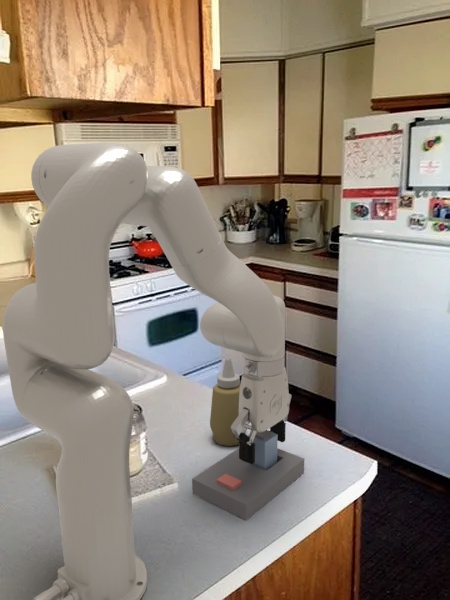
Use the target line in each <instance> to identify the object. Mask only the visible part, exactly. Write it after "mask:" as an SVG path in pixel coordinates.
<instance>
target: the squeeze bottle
mask: <svg viewBox="0 0 450 600" xmlns="http://www.w3.org/2000/svg"><path fill="white" fill-rule="evenodd" d="M232 362H233V361H232V359H231V358H225V361H224V365H223V370H222V373H220V374H218V375H217V376H216V384H215V385H214V386H213V387H212V393H211V396H212V397H211V405H210V418H209V427H210V429H211V432H212V435H213V438H214V440H215V442H216V443H218V444H219V445H221V446H225V447H226V446H227V447H229V446H231V447H232V446H236V445H237V446H238V445H239V441H238V440H237V439H236V438H235V437H234V434H233V432H232V430H231V425H232V424H233V422H234V421H235V420H236V418H237V417H238V416H239V394H240V385H241V380H240V378H241V377H240V375H239V374H238V373H236V372H235V371H234V367H233V363H232ZM246 432H247V429H246ZM246 432H245V434H246Z"/></svg>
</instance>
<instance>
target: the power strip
mask: <svg viewBox="0 0 450 600" xmlns="http://www.w3.org/2000/svg"><path fill="white" fill-rule="evenodd" d="M304 473H305V458H304V457H300V456H298V455H296V454H293V453H291V452H289V451H285V450H282V449H281V448H278V447H277V463H276V464H275V465H273V466H272V467H271V468H269V469H268V470H267V471H265V470H263V469H261V468H258V467H256V466H254V465H251V464H249V463H247V462H245V461H243V460H241V459H240V458H239V447H238V448H237V449H235V450H234V451H232V452H231V453H229V454H228V455H226V456H225V457H223V458H222V459H219V461H217V462H215V463H214V464H212V465H211V466H209V467H208V468H207V469H205V470H203V471H201V472H200V473H198V474H197V475H196V476H193V478H192V479H191V484H192V485H191V486H192V487H191V488H192V489H191V491H192V495H194V496H196V497H198V498H200V499H202V500H204V501H207V502H208V503H210V504H212V505H215V506H216V507H218V508H220V509H222V510H224V511H227V512H228V513H230V514H232V515H234V516H236V517H238V518H240V519H242V520H244V521H248V520H249V519H250V518H251V517H252V516H254V515H255V514H256V513H257V512H258V511H260V510H261V509H263V507H264V506H266V505H267V504H268V503H269V502H271V501H272V500H273V499H275V497H277V496H278V495H279V494H280V493H281V492H283V491H284V490H285V489H287V487H289V486H290V485H291V484H292V483H294V482H295V481H296V480H298V478H300V477H301V476H302V475H304Z"/></svg>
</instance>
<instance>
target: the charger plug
mask: <svg viewBox="0 0 450 600" xmlns="http://www.w3.org/2000/svg"><path fill="white" fill-rule="evenodd" d="M247 436H249V434H248V435H247ZM277 440H278V434H275V433H273V432H271V431H270V429H267V430H266V431H264V432H262V433H258V432H257V433H256V435H255V437H254V440H253V443H255V463H253V464H251V465H254V466H256V467H258V468H261V469H263V470H265V471H267V470H268V469H269V468H271V467H272V466H273V465H275V464H276V463H277V448H278V441H277ZM247 463H248V462H247ZM249 464H250V463H249Z"/></svg>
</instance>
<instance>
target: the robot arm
mask: <svg viewBox="0 0 450 600" xmlns="http://www.w3.org/2000/svg"><path fill="white" fill-rule="evenodd" d="M30 175H31V185H32V188H33V190H34V192H35V194H36V196H37V198H38V199H39V200H40V201H41V202H42V203H43V204H44V205H45V206H47V209H46V211H45V213H44V215H43V216H42V218H41V219H40V220H41V221H40V222H39V225H38V228H37V231H36V233H35V239H34V246H33V247H34V248H33V259H34V273H35V274H34V275H35V282H33V283H30V284H27V285H25V286H23V287H21V288H20V289H18V290H17V291H16V292H15V293H14V294H13V296H12V297H11V299H10V300H9V301H8V303H7V305H6V309H5V311H4V315H3V321H2V332H3V333H2V334H3V342H4V343H3V344H4V349H5V355H6V363H7V368H8V375H9V381H10V387H11V392H12V397H13V401H14V404H15V406H16V409H17V411H18V412H19V414H20V415H21V417H23V419H24V420H26V421H27V423H29V424H31V425H33V426H34V427H36V428H38V429H39V430H40V431H43V432H44V433H46V434H48V435H49V436H50V437H53V438H54V439H55V440H57V441H58V442H59V444H60V447H61V454H60V458H59V461H58V464H57V467H56V471H55V489H56V498H57V504H58V514H59V525H60V534H61V544H62V545H61V546H62V554H63V557H62V558H63V566H61V567H59V568H58V569H57V570H56V571H57V579H56V580H55V581H53V583H52V586H51V587H50V588H48V589H47V590H44V591H42V592H41V593H39V594H38V595H37V596H35V597H34V598H33V599H32V600H141V598H143V596H144V594H145V593H146V590H147V587H148V580H149V579H148V569H147V567H146V565H145V563H144V562H143V560H142V559H141V558H140V557H139V556H138V555H137V554H136V550H135V548H136V547H135V532H134V519H133V518H134V517H133V502H132V501H133V500H132V499H133V498H132V486H131V473H130V472H131V471H130V449H131V448H130V446H131V437H132V432H133V425H134V419H135V417H134V415H135V411H134V404H133V401H132V398H131V397H130V394H129V393H128V392H127V391H126V389H125V388H124V387H123V386H122V385H121V384H120V383H118V382H116V381H115V380H113V379H112V378H110V377H108V376H105V375H103V374H101V373H98V372H97V371H96V372H95V371H93V370H92V369H94V368H97V367H99V366H101V365H103V364H104V363H105V362H106V361H107V360H108V359H109V357H110V356H111V354H112V352H113V350H114V345H115V341H116V340H115V337H116V336H115V335H116V334H115V321H114V320H115V319H114V309H113V299H112V288H111V278H110V248H111V244H112V241H113V240H114V237H115V235H116V232H117V230H118V229H119V227H120V226H121V224H124V225H133V226H141V227H148V228H149V230H150V231H151V232H152V234H153V235H154V237H155V239H156V241H157V243H158V244H159V246H160V248H161V249H162V251H163V253H164V255H165V256H166V259H167V261H168V262H169V264H170V265H171V267H172V270H173V271H174V273H175V275H176V276H177V277H178V279H180V280H181V281H182V282H183V283H185V284H186V285H188V286H189V287H190V288H192V289H193V290H196V291H198V292H199V293H200V294H202V295H203V296H206V297H208V298H210V299H212V300H214V301H216V303H213V304H212V305H210V306H209V307H208V308H207V309H205V311H204V312H203V314H202V316H201V318H200V322H199V327H200V328H199V329H200V332H201V335H202V337H204V339H205V340H206V341H207V342H209V343H211V344H212V345H215V346H218V347H221V348H223V349H224V348H225V349H228V350H231V351H236V352H239V353H241V354H242V356H241V359H242V367H241V368H242V371H241V372H242V375H241V380H240V384H241V385H240V394H239V416H238V417H237V418H236V420H235V421H234V422H233V424H232V425H231V430H232V432H233V434H234V437H235V438H236V439H237V440H238V441H239V444H238V448H239V458H240V459H241V460H243V461H245V462H248V463H250V464H253V463H255V443H253V440H254V437H255V435H256V433H257V432H258V433H262V432H264V431H266V430H269V431H271V432H273V433H275V434H278V440H277V442H280V443H284V442H285V441H286V422H287V421H288V415H289V412H290V404H291V400H292V394H291V393H289V382H288V381H289V380H288V373H287V369H286V367H285V354H286V353H285V351H286V349H285V348H286V345H285V344H286V304H285V302H284V299H282V298H281V297H280V296H278V295H274V294H273V292H272V291H271V290H270V288H269V287H268V285H267V284H266V283H265V282H264V281H263V279H261V278H260V277H259V276H258V274H256V273H255V272H254V271H253V270H252V269H251V268H249V267H248V266H247V265H246V264H245V263H244V261H242V260H241V259H240V258H239V257H238V256H236V255H235V254H233V253H232V251H230V250H229V249H228V247H227V245H226V244H225V242H224V239H223V236H222V235H221V233H220V232H219V231H220V230H219V229H218V227H217V224H216V223H215V221H214V218H213V216H212V215H211V212H210V210H209V208H208V206H207V203H206V201H205V199H204V196H203V195H202V193H201V190H200V188H199V186H198V184H197V182H196V181H195V179H194V178H193V176H192V175H191V174H190V173H189V172H187V171H186V170H184V169H183V168H179V167H176V166H170V165H169V166H168V165H147V164H146V161H145V159H144V157H143V156H142V155H141V154H140V153H139V152H138V151H137V150H135V149H134V148H133V147H130V146H128V145H124V144H120V143H114V142H92V143H78V144H77V143H76V144H59V145H55V146H51V147H48V148H47V149H45V150H43V152H41V153H40V154H39V155H38V157H37V158H36V159H35V161H34V163H33V165H32V168H31V173H30ZM246 429H248V430H250V431H249V434H248V435H249V436H248V435H247V434H246V433H245V432H247V430H246Z"/></svg>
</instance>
